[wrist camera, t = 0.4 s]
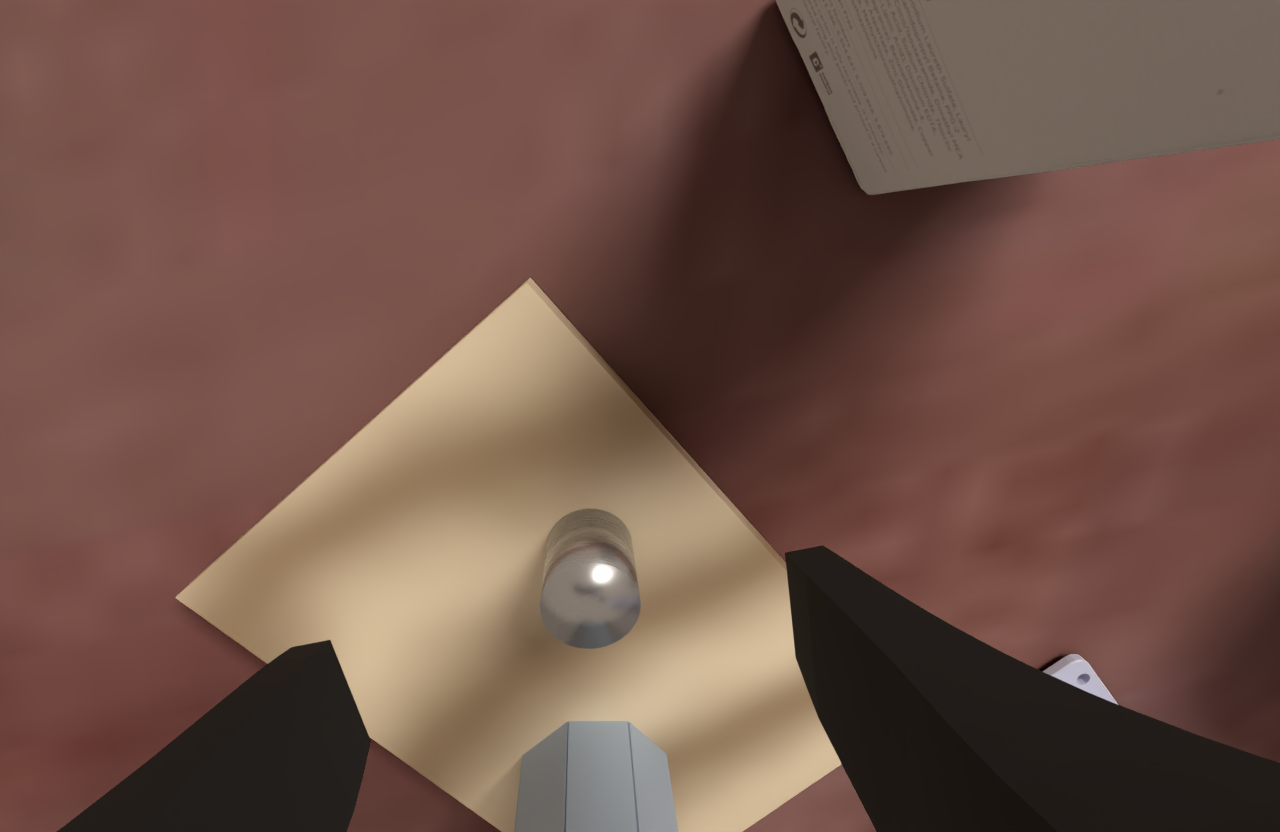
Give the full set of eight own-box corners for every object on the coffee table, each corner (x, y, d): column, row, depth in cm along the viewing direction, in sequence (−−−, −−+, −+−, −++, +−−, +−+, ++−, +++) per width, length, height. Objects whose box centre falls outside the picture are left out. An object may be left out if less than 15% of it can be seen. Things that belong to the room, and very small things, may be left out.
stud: (649, 549, 19) (661, 608, 16) (585, 598, 19) (586, 665, 17) (593, 492, 18) (595, 544, 15) (528, 545, 19) (518, 605, 16)
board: (899, 689, 23) (915, 714, 22) (616, 883, 25) (618, 915, 24) (530, 277, 17) (526, 282, 16) (199, 574, 19) (175, 597, 18)
